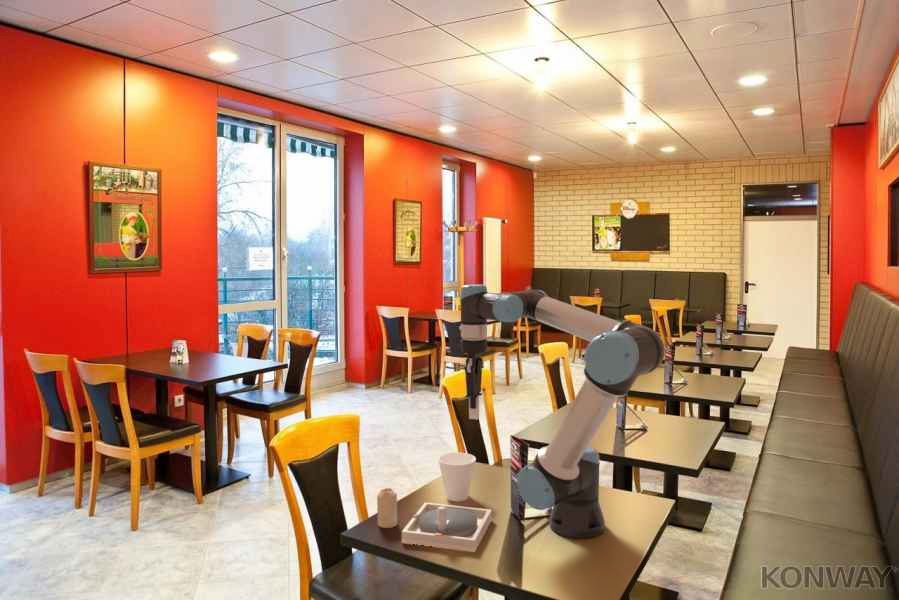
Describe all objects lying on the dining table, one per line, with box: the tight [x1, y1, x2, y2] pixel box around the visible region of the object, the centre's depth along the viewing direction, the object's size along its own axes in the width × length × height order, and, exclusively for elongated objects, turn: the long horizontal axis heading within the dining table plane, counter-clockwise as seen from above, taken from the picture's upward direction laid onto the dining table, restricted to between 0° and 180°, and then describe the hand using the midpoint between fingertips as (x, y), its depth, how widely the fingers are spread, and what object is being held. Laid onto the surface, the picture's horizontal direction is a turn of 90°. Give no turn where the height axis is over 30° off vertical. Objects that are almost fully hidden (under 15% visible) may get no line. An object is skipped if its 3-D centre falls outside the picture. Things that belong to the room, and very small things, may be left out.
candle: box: [376, 487, 398, 529], centre depth 189 cm, size 6×6×10 cm
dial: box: [419, 506, 477, 537], centre depth 184 cm, size 16×16×8 cm
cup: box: [437, 452, 477, 502], centre depth 208 cm, size 12×12×12 cm
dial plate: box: [401, 501, 492, 553], centre depth 184 cm, size 20×20×4 cm
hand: (474, 418), depth 194 cm, fingers closed
